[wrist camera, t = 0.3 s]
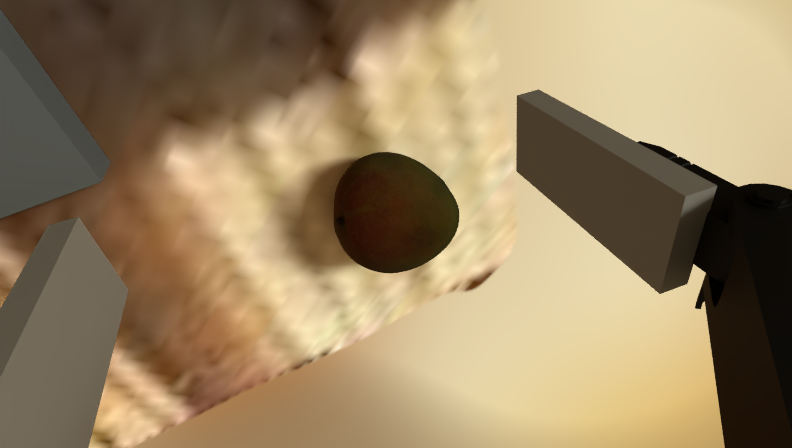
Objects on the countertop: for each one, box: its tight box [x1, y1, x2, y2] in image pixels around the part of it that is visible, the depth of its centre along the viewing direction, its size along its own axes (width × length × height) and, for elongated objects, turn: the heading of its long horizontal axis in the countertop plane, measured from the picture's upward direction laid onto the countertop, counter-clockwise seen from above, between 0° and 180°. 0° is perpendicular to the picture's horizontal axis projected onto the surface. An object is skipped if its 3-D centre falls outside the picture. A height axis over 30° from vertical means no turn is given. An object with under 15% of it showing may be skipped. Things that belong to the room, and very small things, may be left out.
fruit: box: [334, 152, 459, 273], centre depth 43 cm, size 12×12×10 cm
